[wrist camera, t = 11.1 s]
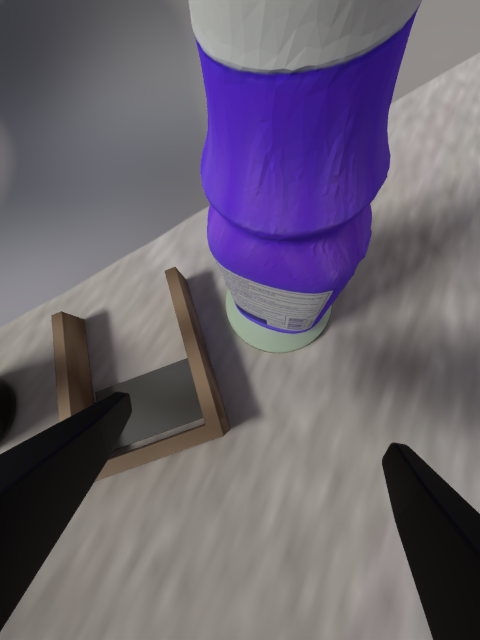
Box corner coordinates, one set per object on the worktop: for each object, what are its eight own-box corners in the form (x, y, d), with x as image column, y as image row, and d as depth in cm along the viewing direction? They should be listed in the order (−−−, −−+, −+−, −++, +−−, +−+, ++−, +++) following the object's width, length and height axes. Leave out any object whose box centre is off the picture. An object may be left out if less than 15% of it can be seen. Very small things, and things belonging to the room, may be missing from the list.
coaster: (347, 280, 20) (349, 277, 19) (301, 373, 18) (302, 372, 18) (256, 244, 22) (256, 240, 22) (209, 323, 21) (207, 321, 20)
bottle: (332, 285, 19) (665, -315, 3) (312, 347, 18) (676, -48, 2) (252, 262, 21) (166, -191, 5) (229, 318, 20) (-3, -18, 3)
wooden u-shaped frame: (230, 429, 18) (223, 435, 16) (91, 478, 18) (64, 492, 16) (185, 279, 22) (175, 266, 20) (74, 322, 23) (51, 315, 20)
